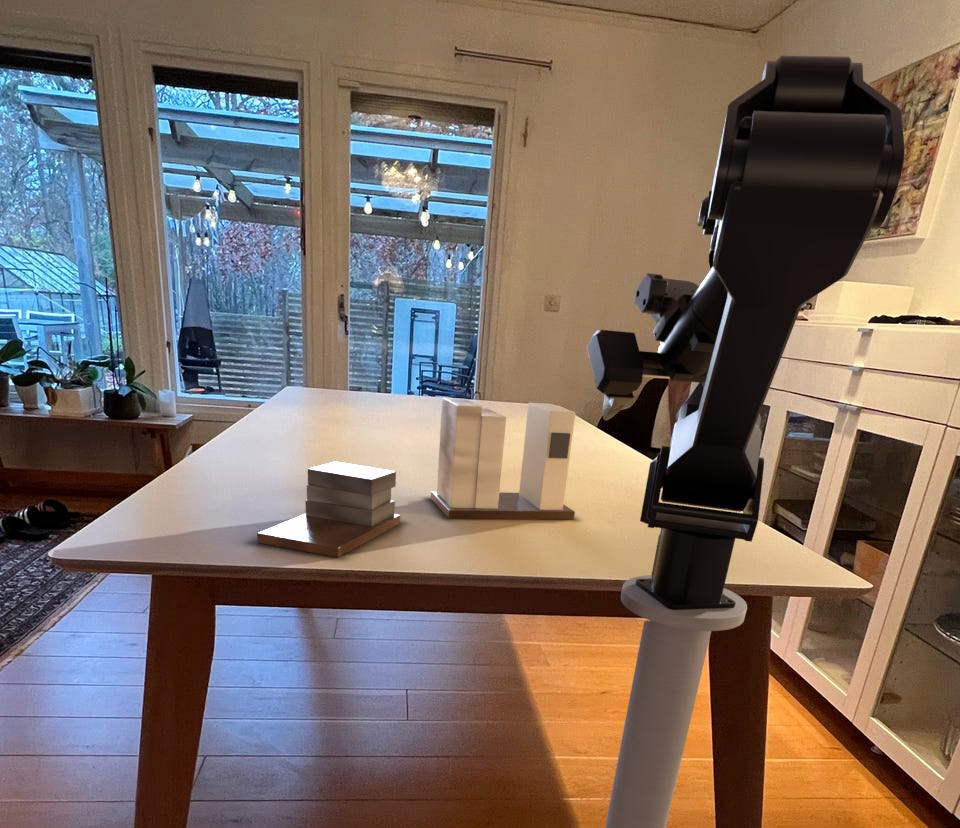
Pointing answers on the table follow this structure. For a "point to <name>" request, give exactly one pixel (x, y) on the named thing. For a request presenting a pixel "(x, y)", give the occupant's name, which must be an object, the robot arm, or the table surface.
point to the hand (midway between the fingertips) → (641, 418)
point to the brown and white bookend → (478, 467)
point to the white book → (546, 455)
